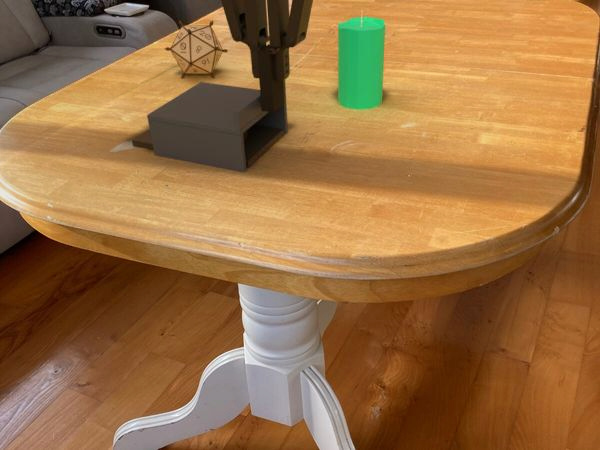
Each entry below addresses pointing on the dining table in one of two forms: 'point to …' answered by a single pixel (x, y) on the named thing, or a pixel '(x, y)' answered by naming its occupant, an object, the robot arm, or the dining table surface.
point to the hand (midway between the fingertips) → (273, 106)
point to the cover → (211, 124)
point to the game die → (196, 49)
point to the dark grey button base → (254, 138)
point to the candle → (361, 62)
